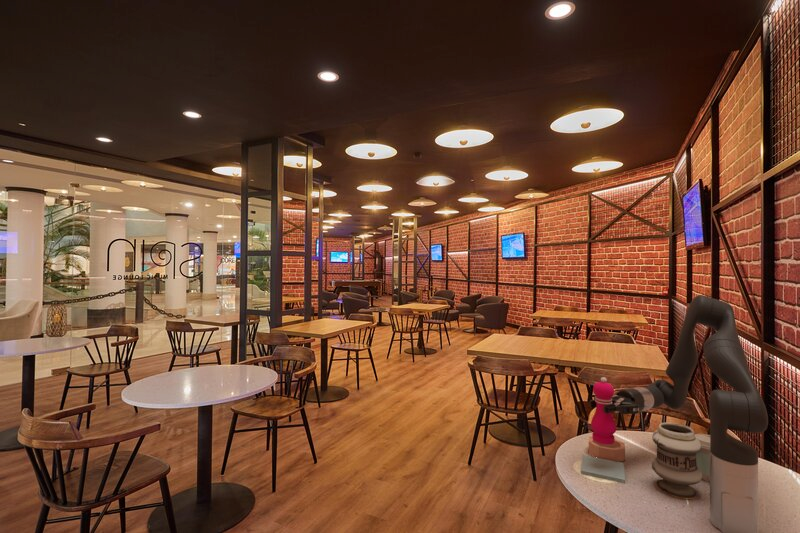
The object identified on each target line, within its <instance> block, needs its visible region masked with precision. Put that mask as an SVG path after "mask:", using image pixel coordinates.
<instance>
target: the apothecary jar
mask: <svg viewBox="0 0 800 533" xmlns="http://www.w3.org/2000/svg"><path fill="white" fill-rule="evenodd" d="M651 435H652V436H651V437H652V438H651V439H652V441H653V443H654V444H655V445H656V456H655V458H654V459H652V461H651V468H652V470H653V472H654V473H655V474H656V475H657V476H658V477H660V478H661V479H658V480H657V481H656V482H655V486H656V488H657V489H658V490H659V491H661V492H663V493H666V495H669V496H672V497H674V498H677V499H681V500H682V499H684V500H692V499H695V498H697V496H698V494H697V491H696V490H695V489H694V488H693V487H692V486H695V485H696V484H699V483H700V482H702V480H703V479H702V473H701V471H700V469H699V468H698V467H697V463H696V453H698V452H699V451H700V450H701V443H700V441H699V440H698V439H697V438H696V437H695V431H694V429H693V428H691V427H690V426H687V425H685V424H681V423H676V422H661V423H660V424H658V429H656V430H655V431H654V432H653V433H652V434H651Z"/></svg>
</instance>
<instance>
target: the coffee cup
mask: <svg viewBox="0 0 800 533" xmlns="http://www.w3.org/2000/svg"><path fill="white" fill-rule="evenodd" d="M694 435H695V437H696V438H697V439H698V440H699V441H700V443H701V450H700V451H699V452H698V453H696V463H697V467H698V468H699V469H700V471H701V473H702V479H701V480H703V481H706V482H709V483H710V434H707V433H696V434H695V433H694Z"/></svg>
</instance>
